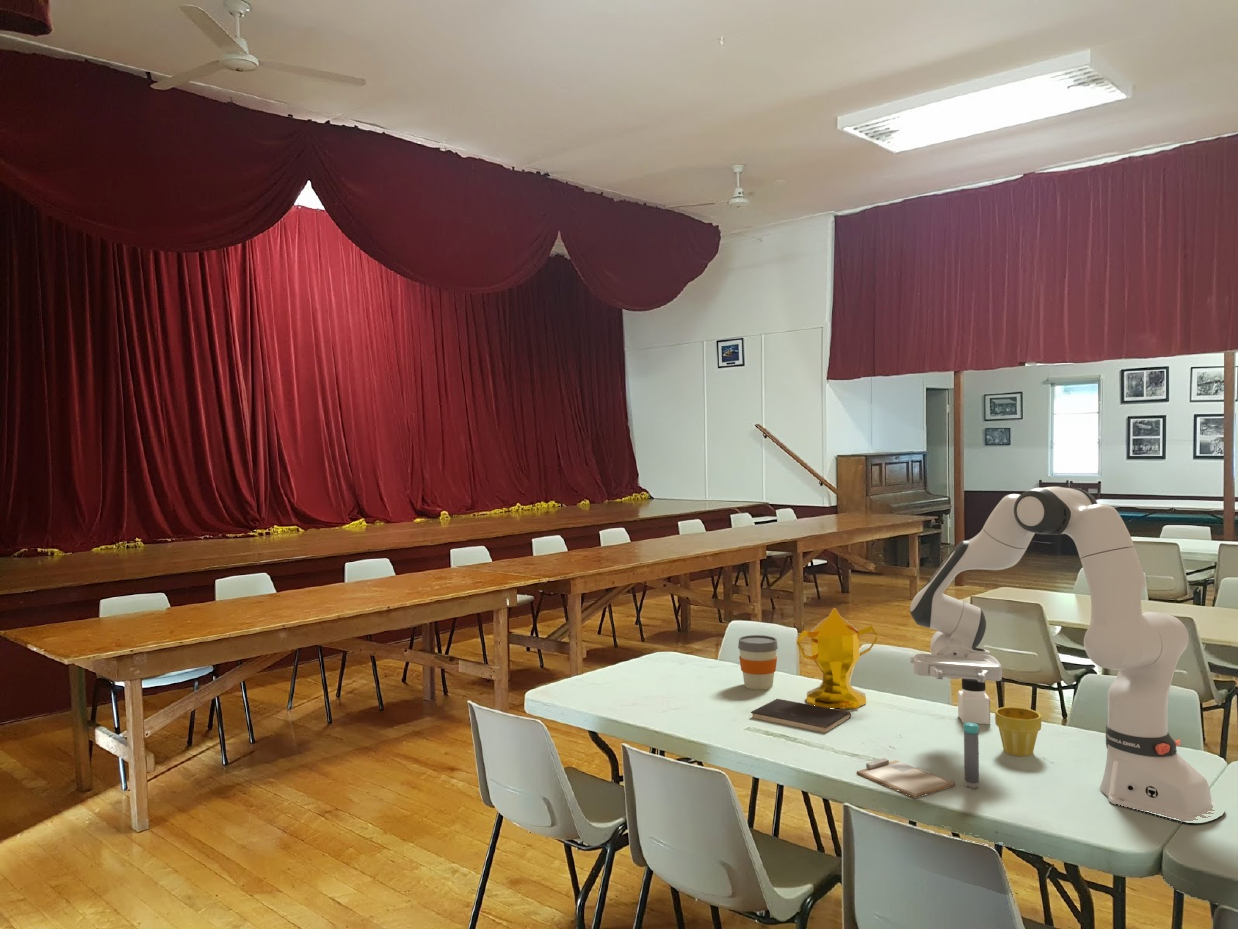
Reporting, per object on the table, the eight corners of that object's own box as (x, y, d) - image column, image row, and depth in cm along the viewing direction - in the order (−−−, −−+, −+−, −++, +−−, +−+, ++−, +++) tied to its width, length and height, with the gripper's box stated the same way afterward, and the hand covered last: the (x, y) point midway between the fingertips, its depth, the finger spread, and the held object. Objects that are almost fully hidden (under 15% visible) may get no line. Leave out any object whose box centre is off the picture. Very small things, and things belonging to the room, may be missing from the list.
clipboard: (955, 785, 193) (954, 778, 193) (914, 798, 186) (914, 791, 186) (894, 762, 208) (894, 755, 208) (855, 773, 201) (855, 766, 201)
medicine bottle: (990, 724, 234) (990, 680, 234) (962, 723, 235) (962, 680, 235) (984, 716, 241) (984, 674, 241) (957, 715, 242) (957, 673, 242)
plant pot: (1039, 762, 206) (1038, 721, 206) (992, 755, 211) (992, 715, 211) (1043, 749, 215) (1043, 710, 214) (999, 742, 220) (998, 704, 220)
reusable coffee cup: (784, 683, 278) (783, 637, 278) (769, 693, 268) (768, 645, 267) (748, 678, 285) (747, 633, 285) (732, 688, 274) (731, 641, 274)
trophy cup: (888, 708, 250) (886, 612, 249) (805, 712, 248) (804, 615, 247) (866, 691, 267) (865, 602, 266) (789, 695, 265) (787, 604, 265)
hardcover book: (826, 735, 230) (825, 726, 230) (750, 719, 244) (750, 711, 244) (851, 719, 242) (851, 711, 242) (778, 705, 257) (778, 698, 257)
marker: (982, 788, 191) (981, 725, 191) (973, 791, 190) (972, 728, 190) (970, 783, 194) (969, 721, 194) (961, 786, 193) (960, 724, 192)
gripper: (909, 645, 219) (914, 661, 205) (996, 650, 214) (1006, 667, 200) (909, 669, 219) (913, 687, 206) (995, 675, 214) (1006, 694, 201)
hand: (960, 677), depth 203 cm, fingers open, 8 cm apart
